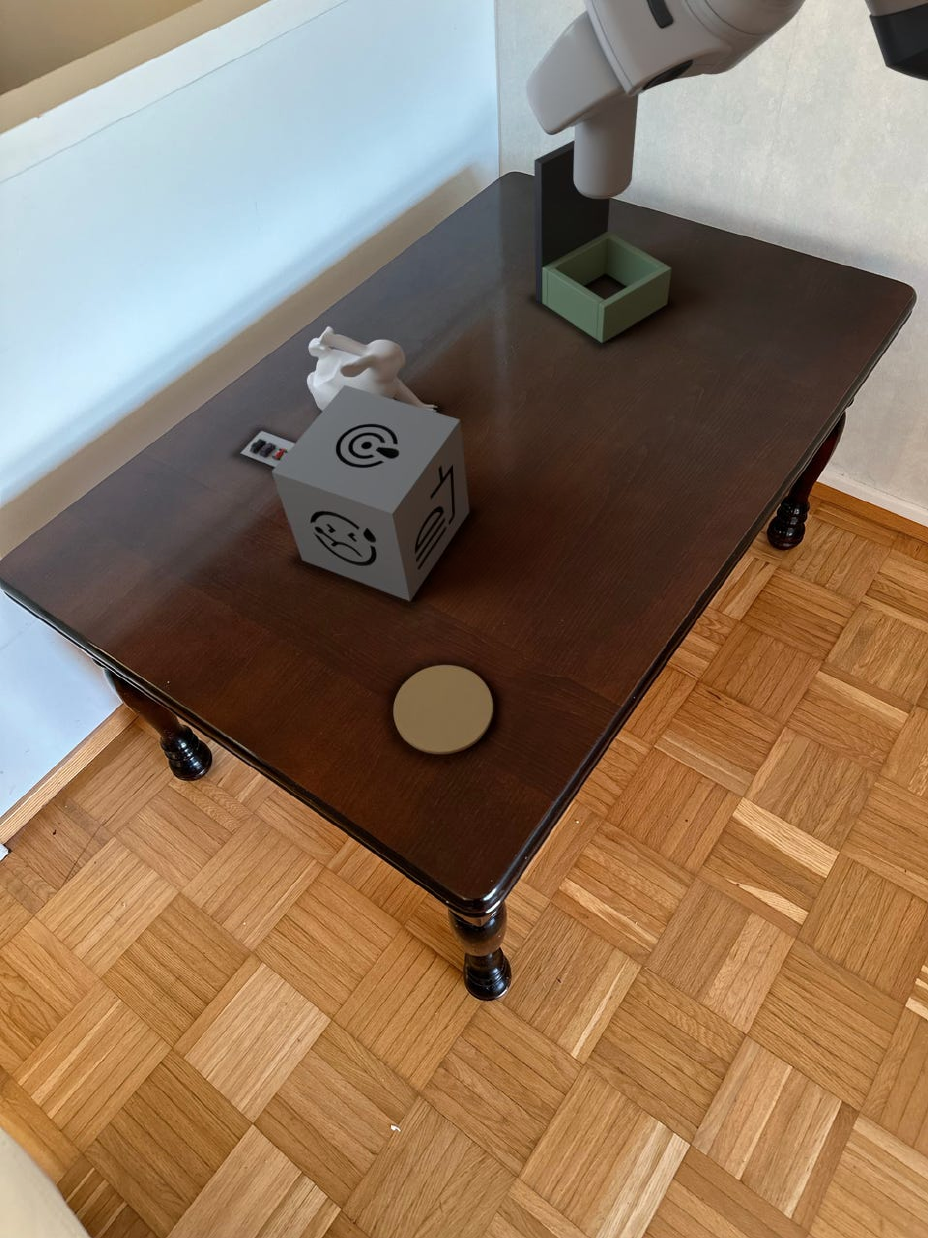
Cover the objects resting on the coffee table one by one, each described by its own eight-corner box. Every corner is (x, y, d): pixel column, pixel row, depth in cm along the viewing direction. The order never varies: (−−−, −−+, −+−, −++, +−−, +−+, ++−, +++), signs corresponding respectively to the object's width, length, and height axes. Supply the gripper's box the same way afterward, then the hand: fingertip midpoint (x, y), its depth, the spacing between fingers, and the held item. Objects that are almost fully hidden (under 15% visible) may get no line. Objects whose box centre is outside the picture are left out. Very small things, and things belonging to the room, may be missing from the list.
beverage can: (639, 176, 76) (653, 14, 66) (619, 206, 73) (631, 42, 63) (584, 167, 77) (590, 7, 67) (563, 196, 75) (566, 35, 65)
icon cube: (469, 511, 74) (460, 419, 66) (410, 601, 69) (392, 513, 61) (365, 476, 78) (344, 384, 69) (302, 560, 73) (271, 471, 65)
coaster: (495, 668, 65) (495, 665, 65) (490, 756, 61) (490, 753, 61) (400, 666, 66) (399, 663, 66) (388, 753, 62) (387, 750, 62)
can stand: (667, 304, 88) (685, 162, 77) (602, 343, 85) (610, 202, 74) (598, 263, 93) (606, 123, 82) (535, 298, 90) (534, 159, 79)
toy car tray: (261, 430, 82) (259, 424, 81) (333, 458, 79) (332, 452, 78) (240, 453, 80) (237, 446, 80) (312, 482, 77) (311, 475, 77)
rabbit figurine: (440, 409, 82) (429, 318, 74) (398, 463, 78) (381, 374, 70) (329, 374, 86) (308, 285, 78) (284, 425, 82) (257, 336, 74)
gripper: (803, -109, 60) (677, 16, 73) (573, -11, 53) (479, 107, 66) (841, -13, 61) (711, 93, 74) (621, 93, 55) (520, 189, 68)
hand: (600, 100), depth 70 cm, fingers closed on beverage can, 5 cm apart
